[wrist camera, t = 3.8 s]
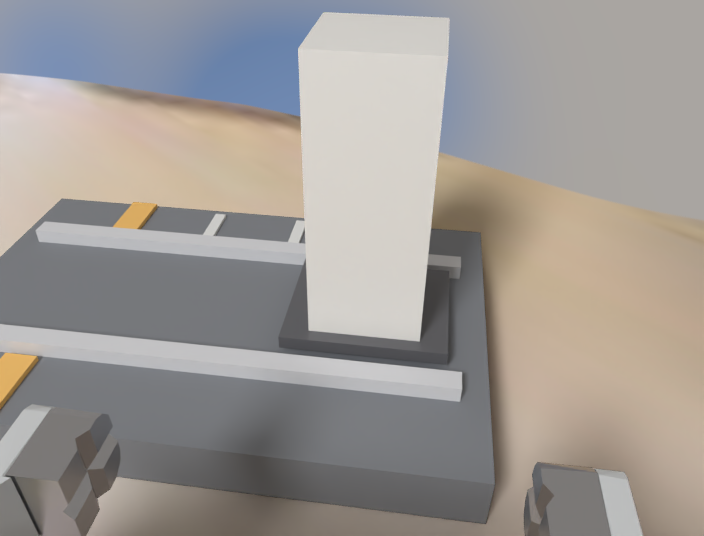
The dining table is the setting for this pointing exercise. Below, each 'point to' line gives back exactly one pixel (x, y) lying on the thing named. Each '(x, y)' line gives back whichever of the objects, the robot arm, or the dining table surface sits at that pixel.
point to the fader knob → (371, 188)
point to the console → (240, 362)
